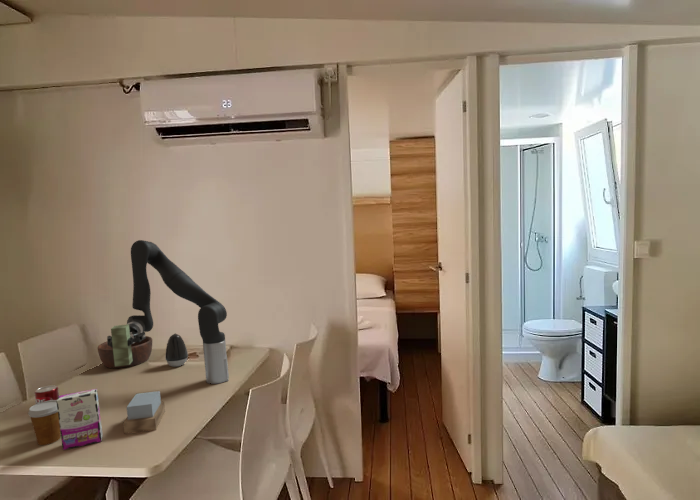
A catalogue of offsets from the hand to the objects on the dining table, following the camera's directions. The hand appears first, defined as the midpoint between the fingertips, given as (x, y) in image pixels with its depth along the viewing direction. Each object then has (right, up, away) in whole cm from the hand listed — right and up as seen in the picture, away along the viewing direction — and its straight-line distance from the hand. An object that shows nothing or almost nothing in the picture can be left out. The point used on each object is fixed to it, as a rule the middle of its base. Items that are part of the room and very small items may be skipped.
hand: (120, 344), depth 175 cm
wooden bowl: (-28, -22, +66) cm, 75 cm away
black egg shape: (+1, -21, +56) cm, 60 cm away
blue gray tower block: (+12, -22, -8) cm, 26 cm away
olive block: (0, -8, +3) cm, 8 cm away
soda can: (-25, -28, -1) cm, 38 cm away
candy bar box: (-2, -28, -20) cm, 35 cm away
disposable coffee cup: (-15, -29, -17) cm, 37 cm away
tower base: (+12, -27, -7) cm, 30 cm away
